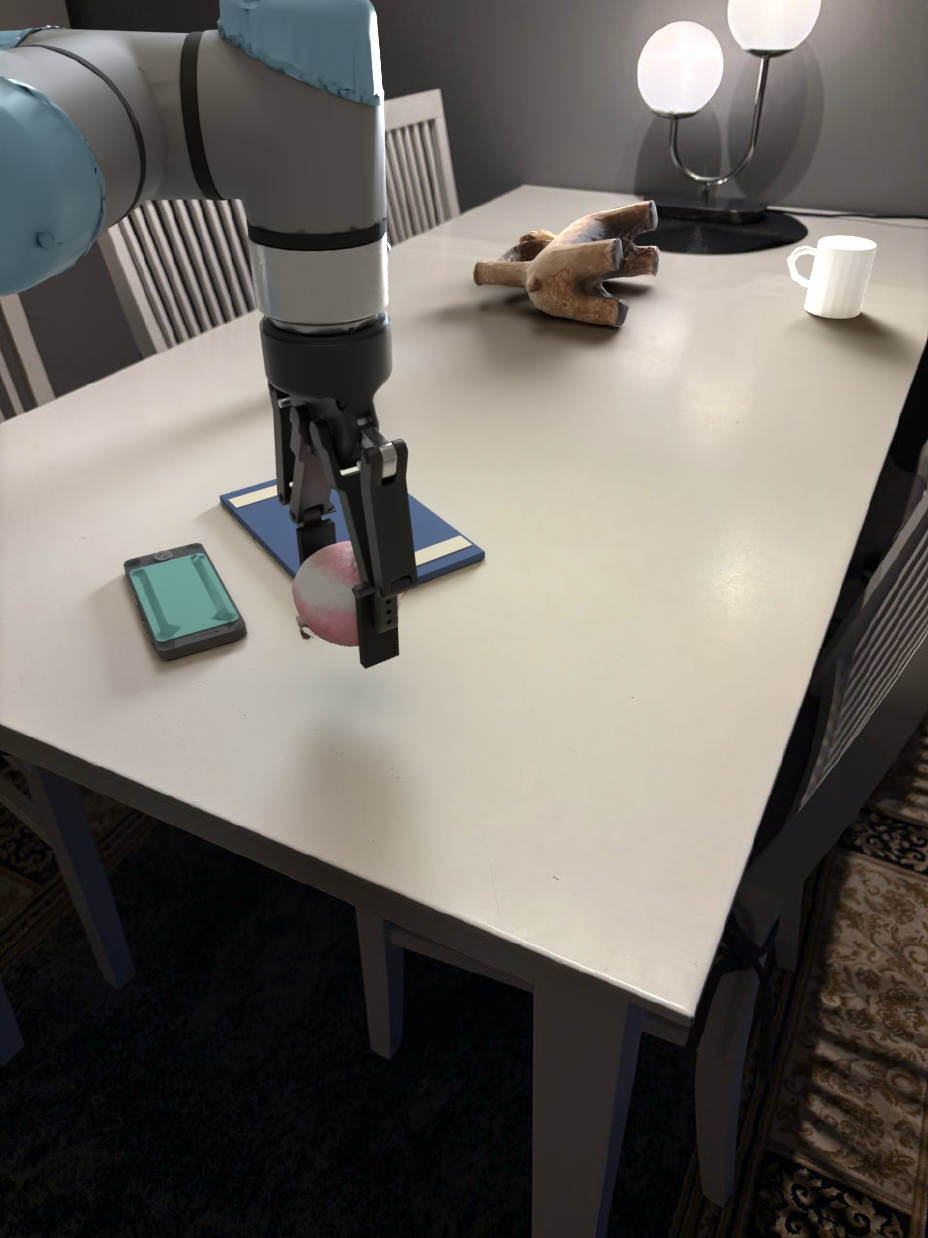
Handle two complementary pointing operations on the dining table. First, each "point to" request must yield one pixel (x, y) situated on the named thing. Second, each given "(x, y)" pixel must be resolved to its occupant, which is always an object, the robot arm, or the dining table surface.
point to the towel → (277, 533)
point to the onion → (329, 595)
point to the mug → (836, 275)
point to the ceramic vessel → (579, 264)
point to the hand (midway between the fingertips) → (350, 628)
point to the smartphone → (183, 601)
